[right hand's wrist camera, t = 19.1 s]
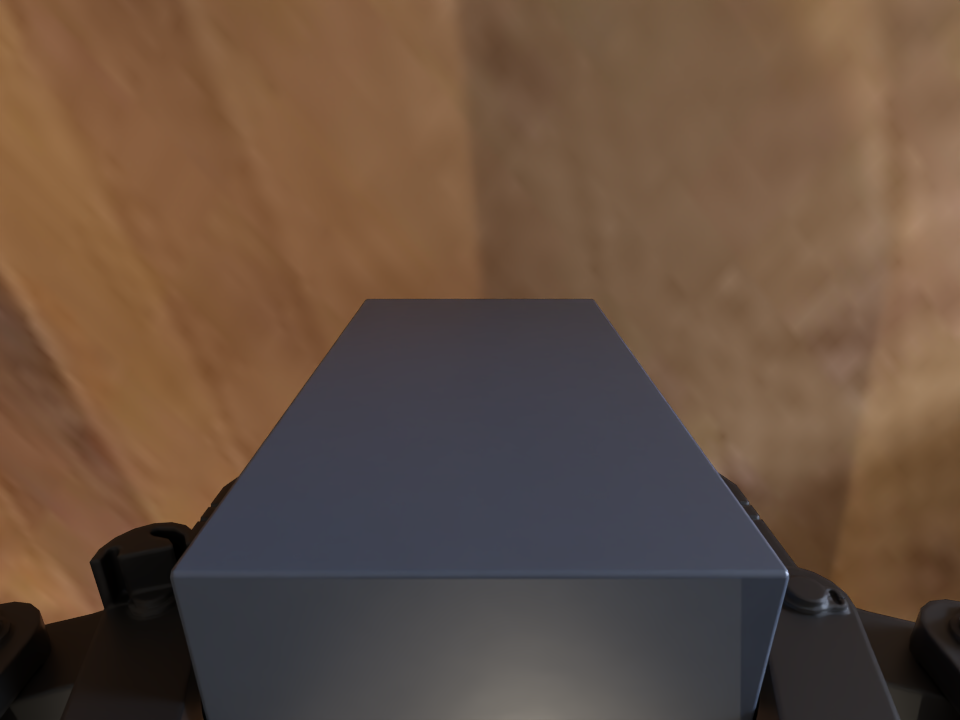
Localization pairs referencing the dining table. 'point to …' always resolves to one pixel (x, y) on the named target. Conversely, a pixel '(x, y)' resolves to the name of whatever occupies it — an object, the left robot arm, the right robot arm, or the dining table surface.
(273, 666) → the grey block
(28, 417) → the dining table surface
